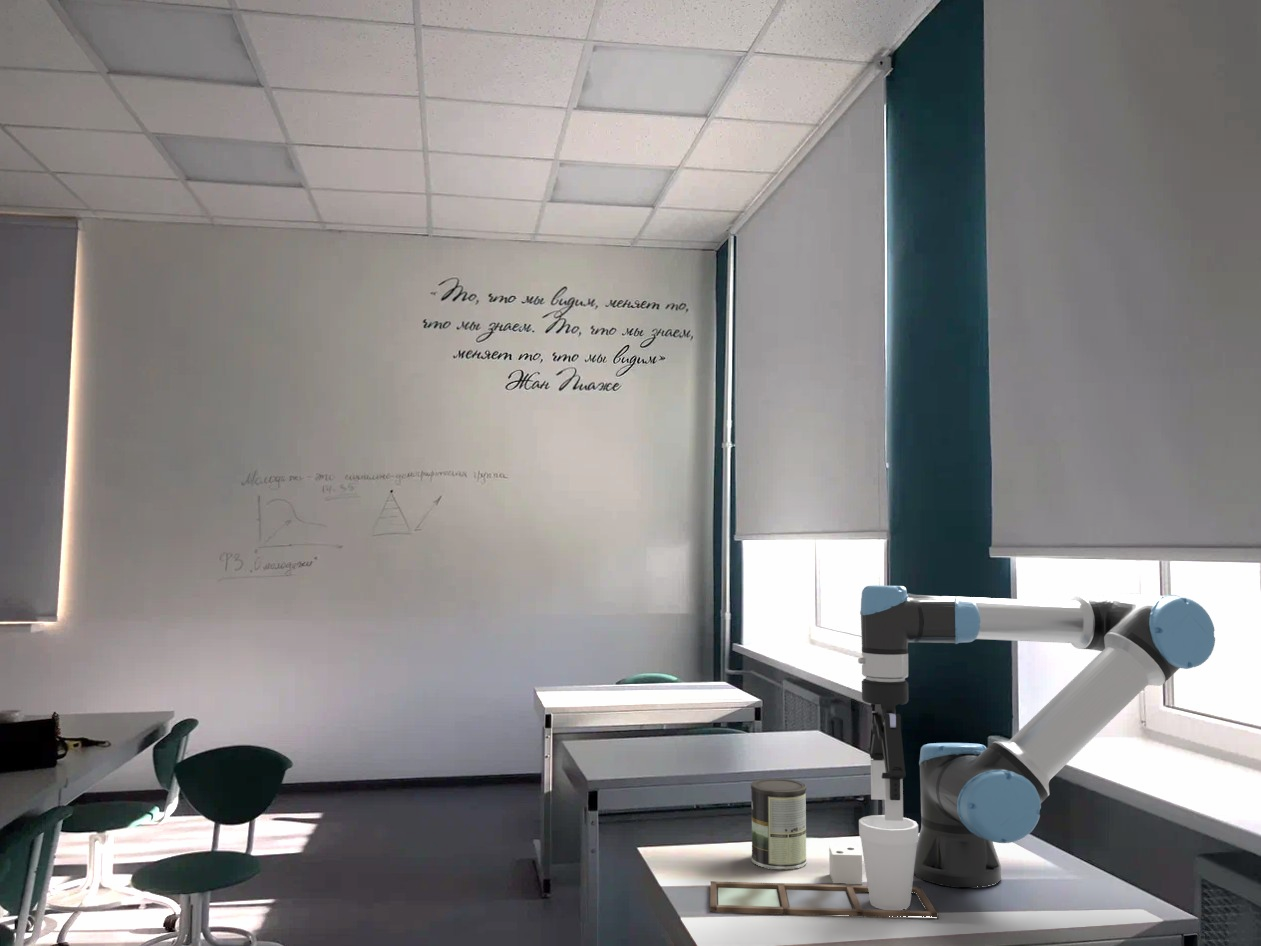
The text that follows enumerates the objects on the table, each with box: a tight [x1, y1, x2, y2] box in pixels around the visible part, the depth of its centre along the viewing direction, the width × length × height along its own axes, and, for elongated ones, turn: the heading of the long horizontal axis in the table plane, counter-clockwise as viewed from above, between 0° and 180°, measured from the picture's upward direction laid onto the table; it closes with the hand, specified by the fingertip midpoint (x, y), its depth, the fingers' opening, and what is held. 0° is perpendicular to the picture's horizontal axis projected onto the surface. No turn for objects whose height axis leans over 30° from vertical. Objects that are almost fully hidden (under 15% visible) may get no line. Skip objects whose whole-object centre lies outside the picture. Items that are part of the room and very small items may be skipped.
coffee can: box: [750, 778, 808, 870], centre depth 184 cm, size 10×10×14 cm
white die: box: [828, 845, 863, 885], centre depth 174 cm, size 5×5×5 cm
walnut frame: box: [709, 880, 939, 918], centre depth 162 cm, size 36×12×1 cm, turn 85°
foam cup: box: [858, 814, 919, 910], centre depth 162 cm, size 10×9×13 cm
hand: (886, 809), depth 162 cm, fingers open, 13 cm apart
